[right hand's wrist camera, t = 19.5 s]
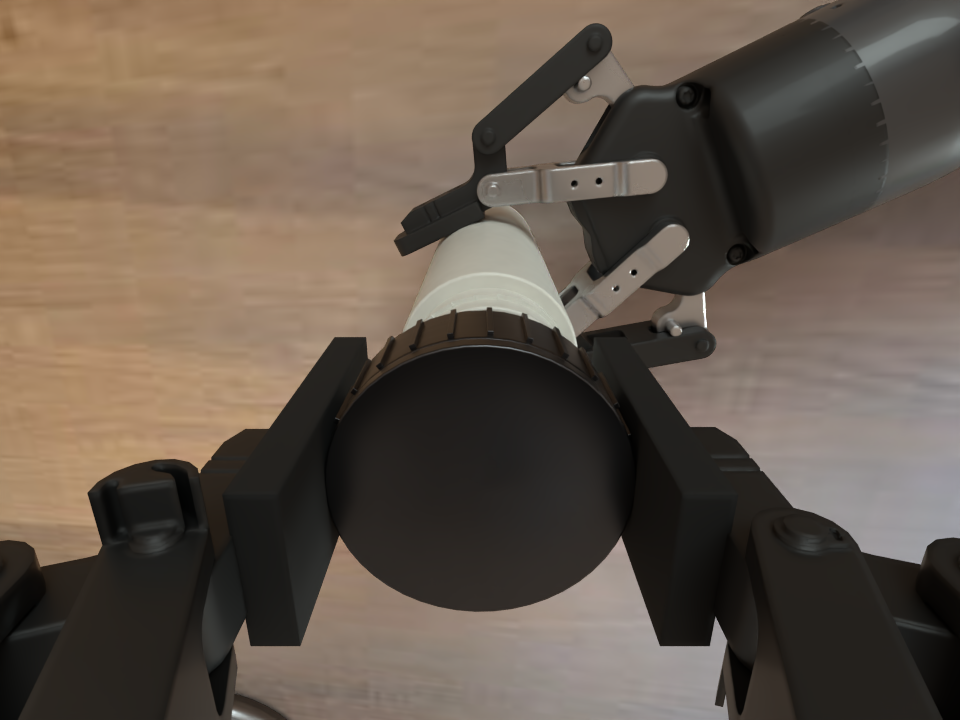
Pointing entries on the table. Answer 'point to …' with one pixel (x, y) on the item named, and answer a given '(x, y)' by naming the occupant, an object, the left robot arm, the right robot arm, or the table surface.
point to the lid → (480, 463)
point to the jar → (491, 274)
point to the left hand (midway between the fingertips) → (432, 303)
